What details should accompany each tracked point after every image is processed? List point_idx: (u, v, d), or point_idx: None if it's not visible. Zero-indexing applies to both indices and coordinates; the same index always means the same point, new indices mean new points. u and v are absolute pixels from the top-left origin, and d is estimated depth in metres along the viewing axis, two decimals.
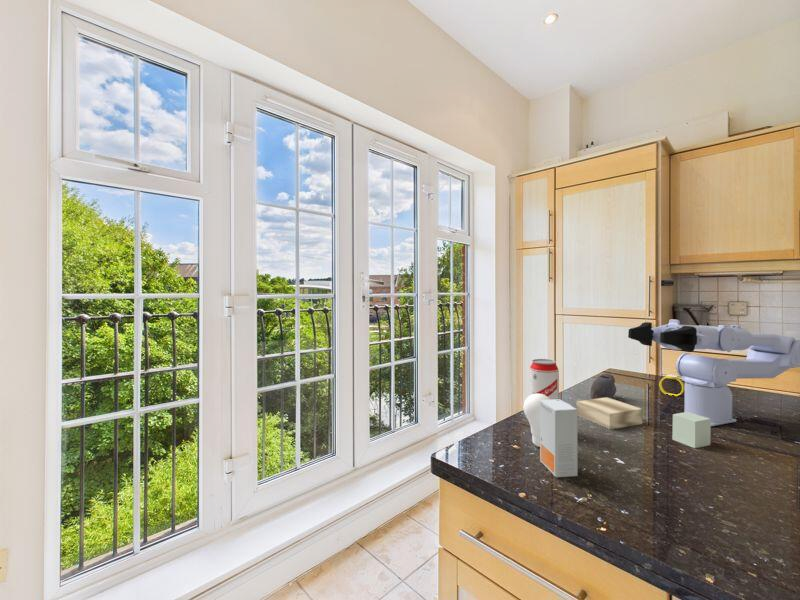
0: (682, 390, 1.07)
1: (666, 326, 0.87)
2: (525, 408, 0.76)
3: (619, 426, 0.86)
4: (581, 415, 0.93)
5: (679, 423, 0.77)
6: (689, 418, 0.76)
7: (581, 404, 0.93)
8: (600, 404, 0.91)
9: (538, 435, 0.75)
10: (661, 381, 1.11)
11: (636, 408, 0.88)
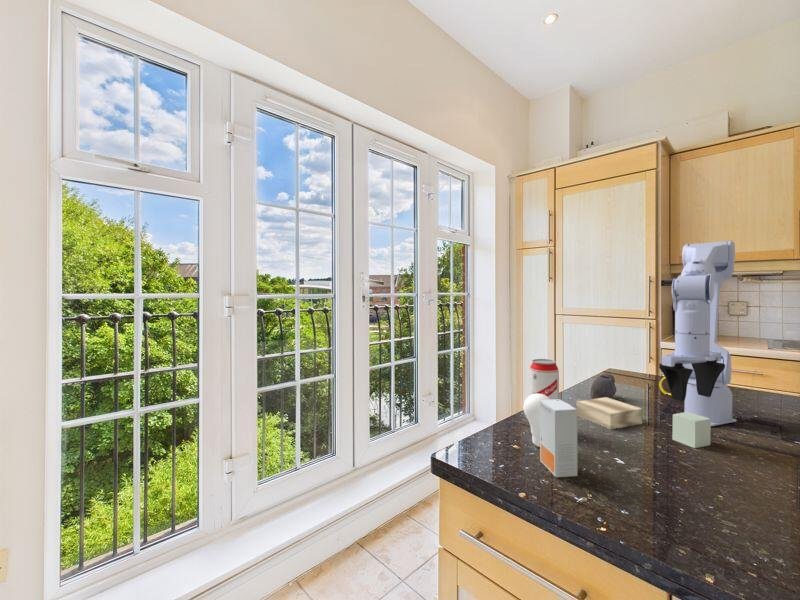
0: None
1: None
2: (525, 408, 0.76)
3: (620, 426, 0.86)
4: (581, 415, 0.92)
5: (679, 423, 0.77)
6: (689, 418, 0.76)
7: (581, 404, 0.92)
8: (600, 404, 0.91)
9: (538, 435, 0.75)
10: (661, 381, 1.11)
11: (636, 408, 0.88)
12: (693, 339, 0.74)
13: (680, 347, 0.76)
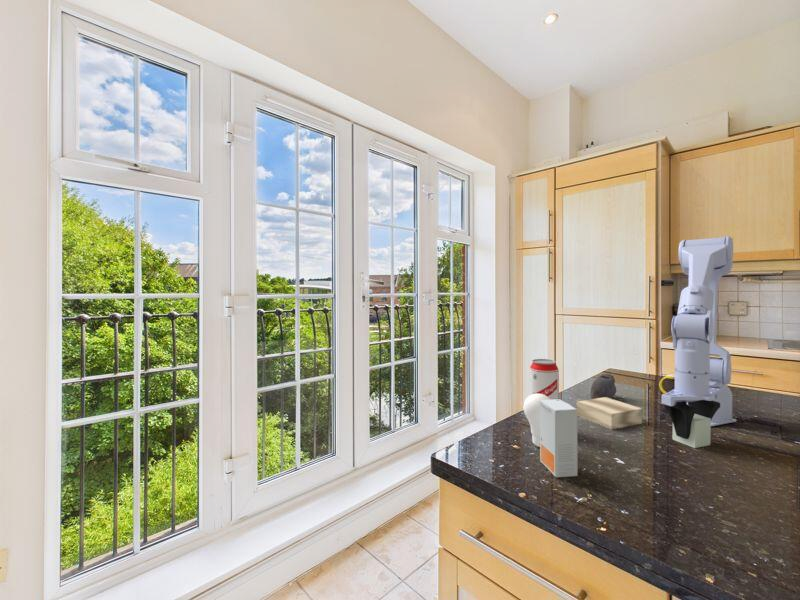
0: None
1: None
2: (525, 408, 0.76)
3: (620, 426, 0.86)
4: (581, 415, 0.92)
5: None
6: None
7: (581, 404, 0.92)
8: (600, 404, 0.91)
9: (538, 435, 0.75)
10: (661, 381, 1.11)
11: (636, 408, 0.88)
12: (693, 378, 0.74)
13: (680, 385, 0.76)
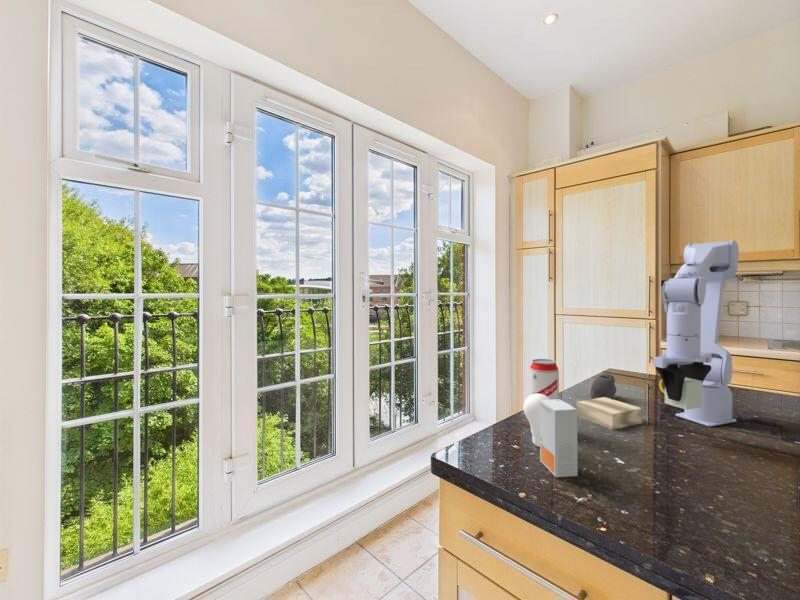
0: None
1: None
2: (525, 408, 0.76)
3: (621, 426, 0.86)
4: (581, 415, 0.92)
5: None
6: None
7: (582, 404, 0.92)
8: (600, 404, 0.91)
9: (538, 435, 0.75)
10: (661, 381, 1.11)
11: (636, 407, 0.88)
12: (684, 341, 0.75)
13: (671, 349, 0.77)
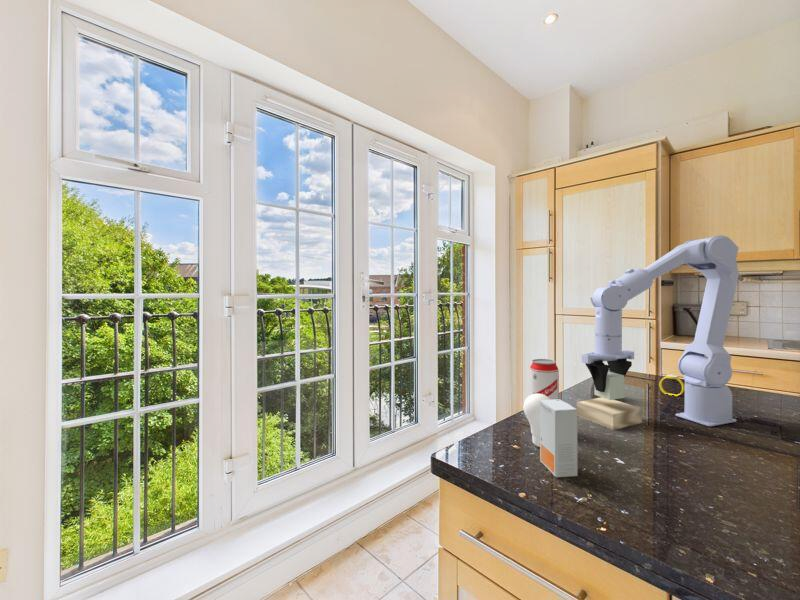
0: (682, 390, 1.07)
1: None
2: (525, 408, 0.76)
3: (621, 426, 0.86)
4: (582, 416, 0.92)
5: None
6: None
7: (582, 405, 0.92)
8: (600, 404, 0.91)
9: (538, 435, 0.75)
10: (661, 381, 1.11)
11: (636, 407, 0.88)
12: (607, 340, 0.88)
13: (598, 347, 0.90)
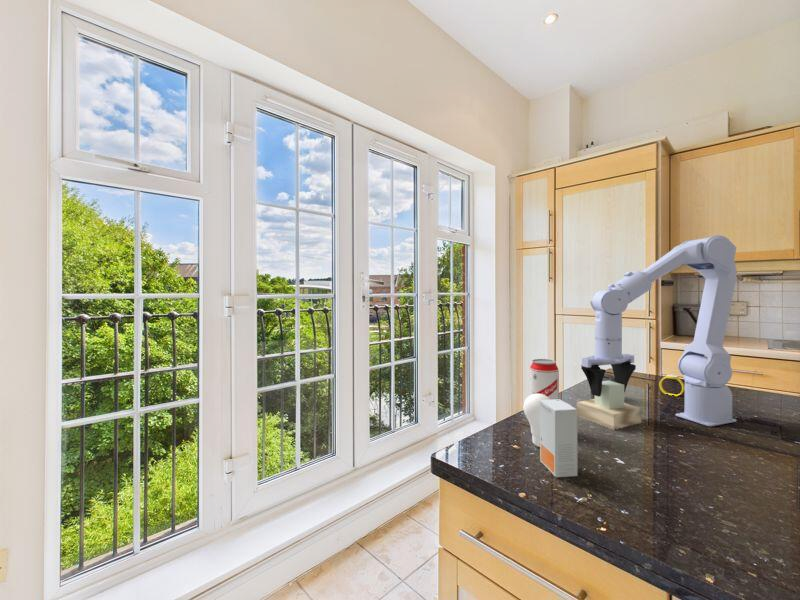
0: (682, 390, 1.07)
1: None
2: (525, 408, 0.76)
3: (622, 426, 0.86)
4: (582, 416, 0.92)
5: None
6: (606, 384, 0.89)
7: (582, 405, 0.92)
8: None
9: (538, 435, 0.75)
10: (661, 381, 1.11)
11: (636, 407, 0.89)
12: (607, 344, 0.88)
13: (598, 351, 0.90)
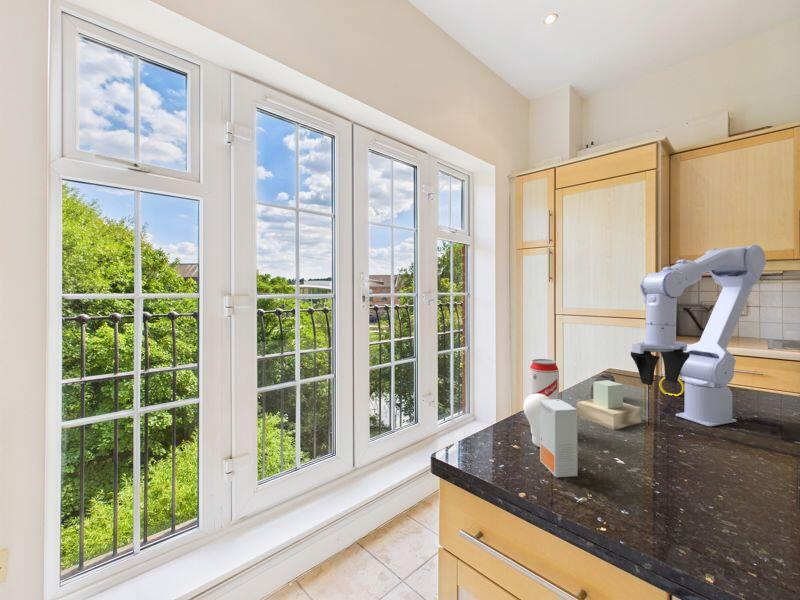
0: (682, 390, 1.07)
1: None
2: (525, 408, 0.76)
3: (622, 426, 0.86)
4: (582, 416, 0.92)
5: (597, 388, 0.91)
6: (604, 384, 0.89)
7: (582, 405, 0.92)
8: None
9: (538, 435, 0.75)
10: (661, 381, 1.11)
11: (635, 407, 0.89)
12: (660, 329, 0.82)
13: (649, 337, 0.84)
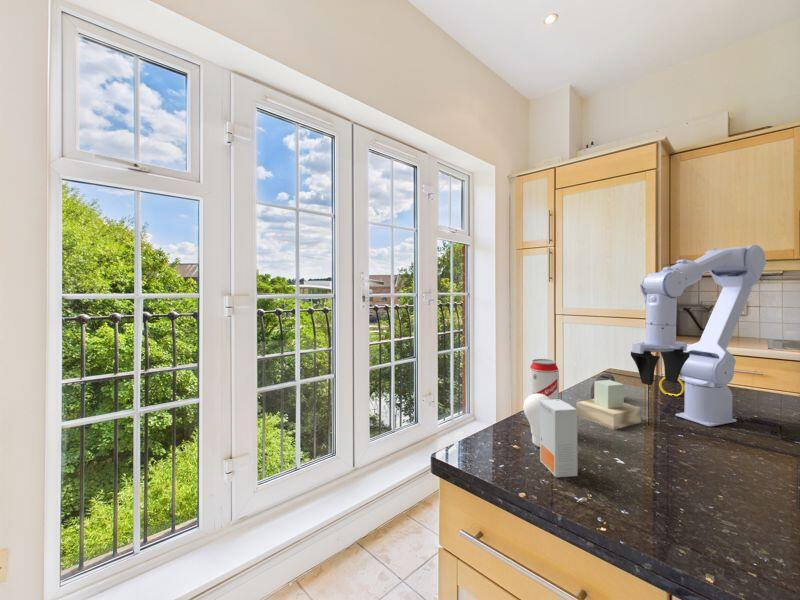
0: (682, 390, 1.07)
1: None
2: (525, 408, 0.76)
3: (621, 426, 0.86)
4: (581, 416, 0.92)
5: (598, 388, 0.91)
6: (605, 384, 0.90)
7: (581, 405, 0.92)
8: None
9: (538, 435, 0.75)
10: (661, 381, 1.11)
11: (635, 407, 0.89)
12: (661, 329, 0.82)
13: (649, 337, 0.84)
